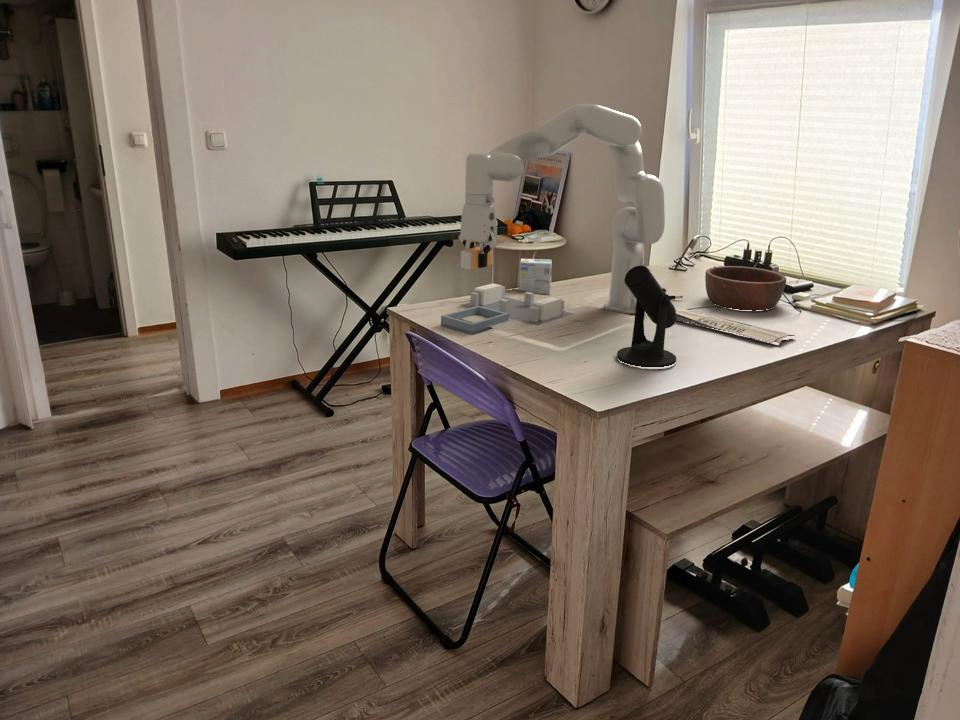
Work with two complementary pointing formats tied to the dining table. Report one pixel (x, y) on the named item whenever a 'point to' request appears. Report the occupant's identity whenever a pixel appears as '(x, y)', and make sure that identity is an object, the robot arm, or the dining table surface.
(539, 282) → the light bulb box
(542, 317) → the block
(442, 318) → the tray
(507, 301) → the fuse block
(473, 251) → the marked fuse
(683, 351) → the dining table surface
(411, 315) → the dining table surface
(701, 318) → the newspaper
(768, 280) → the wooden bowl
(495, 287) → the block
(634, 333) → the microphone
